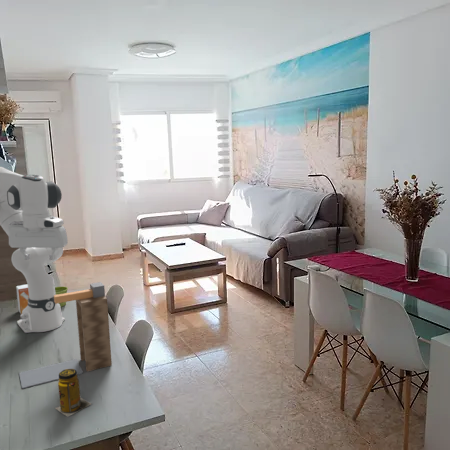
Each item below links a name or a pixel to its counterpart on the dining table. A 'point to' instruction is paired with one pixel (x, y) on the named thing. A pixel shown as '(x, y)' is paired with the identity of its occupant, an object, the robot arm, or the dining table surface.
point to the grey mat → (47, 373)
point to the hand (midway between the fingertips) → (39, 259)
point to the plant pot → (61, 291)
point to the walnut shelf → (94, 332)
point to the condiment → (70, 393)
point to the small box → (22, 297)
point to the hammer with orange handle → (81, 293)
